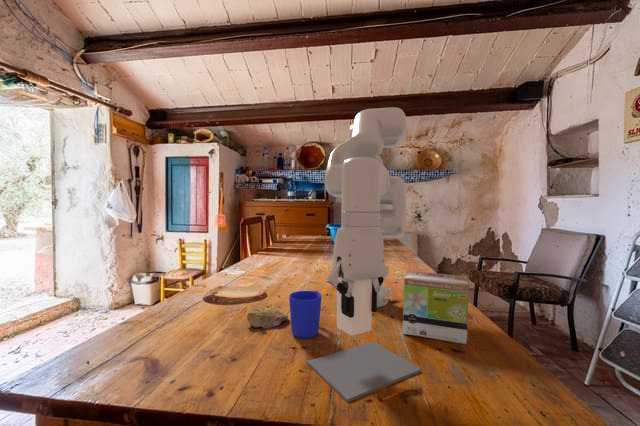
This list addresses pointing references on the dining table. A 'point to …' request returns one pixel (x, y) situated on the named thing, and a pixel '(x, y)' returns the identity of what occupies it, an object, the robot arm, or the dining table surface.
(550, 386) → the dining table surface
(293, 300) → the mug
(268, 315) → the rock
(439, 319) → the tea box
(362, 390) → the mat
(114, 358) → the dining table surface
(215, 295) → the wood slice
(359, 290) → the block
